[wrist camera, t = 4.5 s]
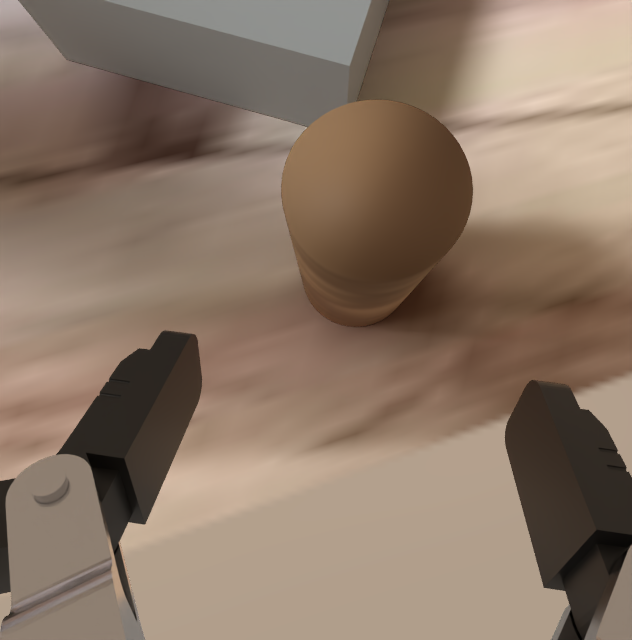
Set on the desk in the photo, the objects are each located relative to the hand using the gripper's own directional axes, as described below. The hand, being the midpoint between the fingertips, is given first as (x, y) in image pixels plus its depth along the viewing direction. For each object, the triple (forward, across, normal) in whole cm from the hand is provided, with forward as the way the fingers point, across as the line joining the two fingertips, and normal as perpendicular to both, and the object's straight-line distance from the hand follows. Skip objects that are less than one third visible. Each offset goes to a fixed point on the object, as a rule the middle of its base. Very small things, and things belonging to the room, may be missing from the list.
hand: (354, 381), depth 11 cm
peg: (+10, 0, +3) cm, 11 cm away
